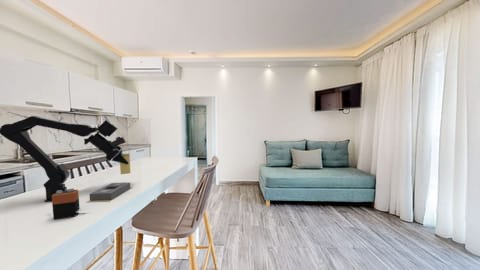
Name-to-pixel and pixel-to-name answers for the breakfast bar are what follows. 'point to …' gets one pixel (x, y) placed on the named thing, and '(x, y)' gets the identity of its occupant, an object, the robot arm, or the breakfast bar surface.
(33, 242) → the breakfast bar surface
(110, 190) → the panel
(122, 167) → the plug
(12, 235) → the breakfast bar surface
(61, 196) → the battery
